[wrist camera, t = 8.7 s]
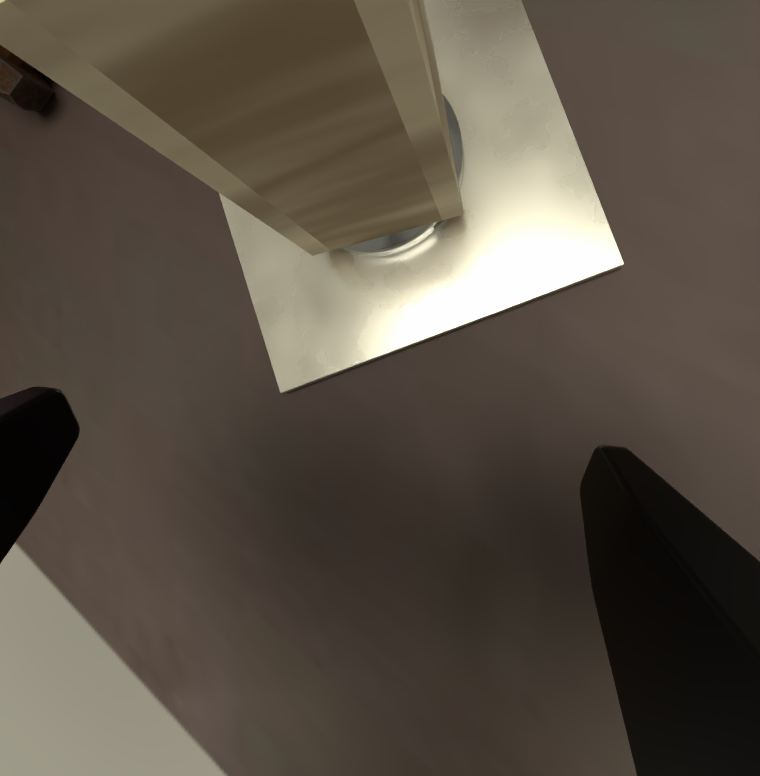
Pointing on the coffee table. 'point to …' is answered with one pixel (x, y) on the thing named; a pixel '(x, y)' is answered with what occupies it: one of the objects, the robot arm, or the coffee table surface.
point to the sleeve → (266, 102)
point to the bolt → (22, 83)
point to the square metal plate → (451, 236)
